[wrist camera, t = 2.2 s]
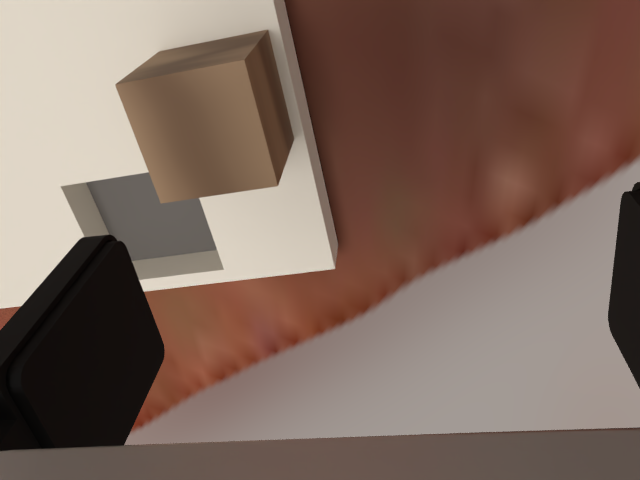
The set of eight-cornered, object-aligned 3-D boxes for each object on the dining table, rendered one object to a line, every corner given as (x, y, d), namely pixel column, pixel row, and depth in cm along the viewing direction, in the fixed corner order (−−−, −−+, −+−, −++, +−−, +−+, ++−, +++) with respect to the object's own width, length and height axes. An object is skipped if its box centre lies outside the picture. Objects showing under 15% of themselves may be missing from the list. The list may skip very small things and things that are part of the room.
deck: (244, -181, 23) (216, -194, 19) (338, 244, 33) (332, 291, 29) (-290, -36, 28) (-397, -23, 24) (-68, 295, 38) (-119, 341, 34)
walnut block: (268, 29, 25) (244, 59, 20) (294, 138, 27) (277, 186, 23) (159, 51, 26) (114, 84, 21) (194, 155, 28) (160, 203, 24)
